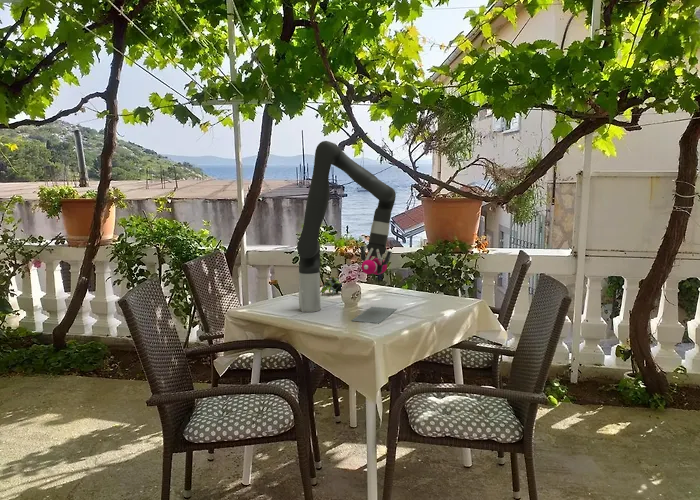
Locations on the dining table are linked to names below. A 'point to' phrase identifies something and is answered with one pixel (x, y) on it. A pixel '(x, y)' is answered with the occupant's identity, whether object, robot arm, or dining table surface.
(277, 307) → the dining table surface
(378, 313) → the mat
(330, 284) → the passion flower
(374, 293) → the dining table surface
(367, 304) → the dining table surface
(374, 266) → the pepper mill
